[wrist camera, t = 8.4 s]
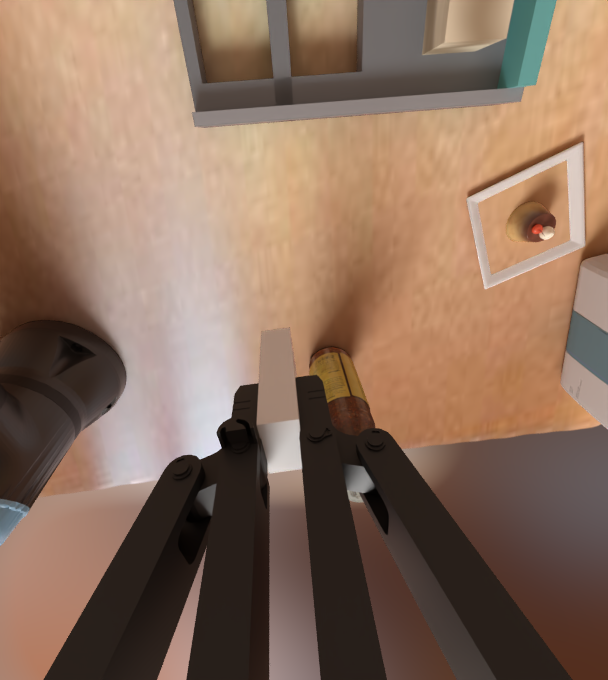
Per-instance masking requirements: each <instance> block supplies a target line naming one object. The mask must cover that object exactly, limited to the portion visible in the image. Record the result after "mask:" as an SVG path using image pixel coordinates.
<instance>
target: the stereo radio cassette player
mask: <svg viewBox="0 0 608 680" xmlns="http://www.w3.org/2000/svg"><path fill="white" fill-rule="evenodd" d="M561 385H562V387H563V388H564V389H565V391H566V392H567V393H568V394H569V395H570V396H571V397H572V398H573V399H574V400H576V401H577V402H578V403H579V404H580V405H581V406H582V407H583V408H584V409H585V410H586V411H587V412H588V413H590V414H591V415H592V416H593V417H594V418H595V419H596V420H597V421H599V422H600V423H601V424H602V425H603V426H604V427H606V428H607V429H608V253H607V254H602V255H599V256H595V257H591V258H588V259H585V260H584V261H582V263H581V265H580V271H579V277H578V283H577V289H576V295H575V300H574V306H573V312H572V317H571V323H570V329H569V335H568V340H567V346H566V352H565V358H564V364H563V369H562V375H561Z"/></svg>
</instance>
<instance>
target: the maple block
mask: <svg viewBox="0 0 608 680" xmlns="http://www.w3.org/2000/svg"><path fill="white" fill-rule="evenodd" d="M513 3H514V0H427V10H426V20H425V30H424V40H423V50H422V55H431V54H446V53H460V52H475V51H478V50H480V49H482V48H485V47H487V46H489V45H492V44H494V43H496V42H499V41H501V40H503V39H506V38H507V33H508V28H509V23H510V18H511V13H512V8H513Z"/></svg>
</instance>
